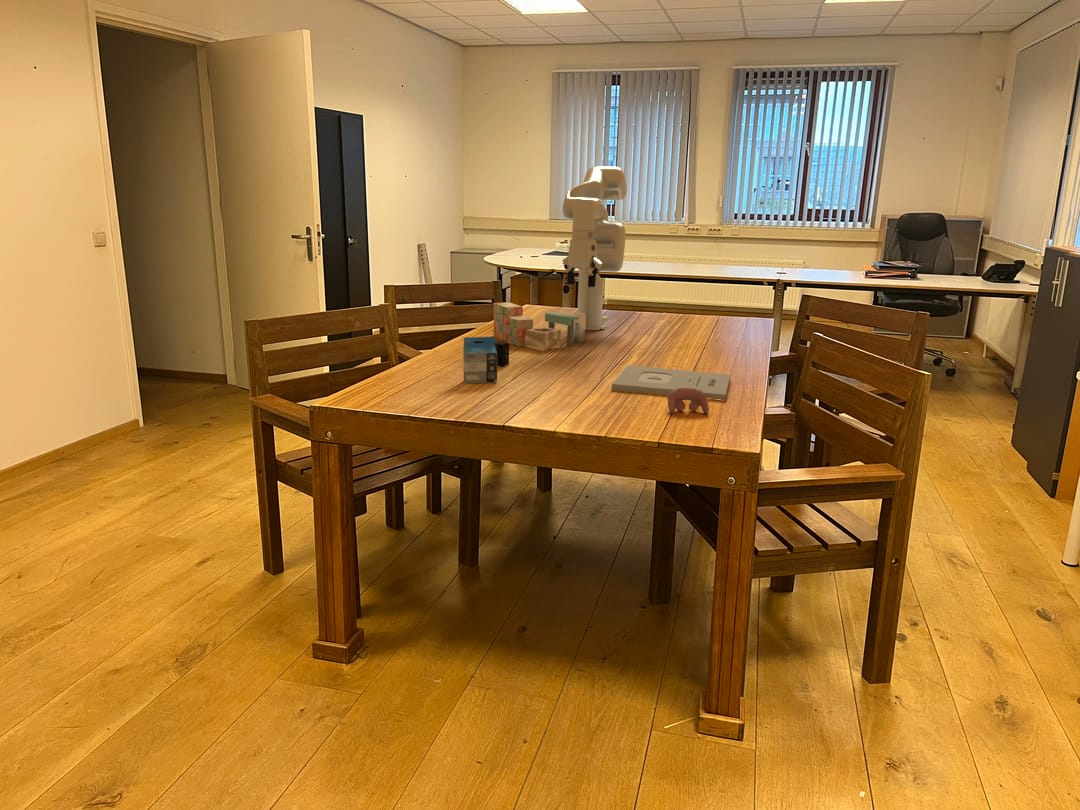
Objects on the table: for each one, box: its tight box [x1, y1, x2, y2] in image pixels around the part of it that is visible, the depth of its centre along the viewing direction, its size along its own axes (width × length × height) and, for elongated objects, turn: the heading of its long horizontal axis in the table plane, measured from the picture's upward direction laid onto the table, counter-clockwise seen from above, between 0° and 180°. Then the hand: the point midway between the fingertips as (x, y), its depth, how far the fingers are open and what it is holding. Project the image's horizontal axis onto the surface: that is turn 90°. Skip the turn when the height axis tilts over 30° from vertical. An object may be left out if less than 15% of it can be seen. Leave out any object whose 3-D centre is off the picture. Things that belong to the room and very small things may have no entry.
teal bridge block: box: [544, 311, 578, 346], centre depth 271 cm, size 4×12×10 cm, turn 46°
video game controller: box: [667, 388, 710, 415], centre depth 191 cm, size 10×5×7 cm, turn 92°
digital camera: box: [474, 340, 510, 368], centre depth 236 cm, size 10×5×7 cm, turn 63°
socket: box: [524, 326, 562, 352], centre depth 264 cm, size 9×8×6 cm
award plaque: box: [611, 364, 732, 401], centre depth 217 cm, size 25×30×2 cm
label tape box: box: [463, 336, 498, 384], centre depth 214 cm, size 9×4×12 cm, turn 105°
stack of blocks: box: [493, 302, 534, 347], centre depth 274 cm, size 21×6×12 cm, turn 25°
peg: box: [573, 311, 586, 343], centre depth 276 cm, size 4×4×10 cm
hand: (581, 285), depth 272 cm, fingers open, 9 cm apart
